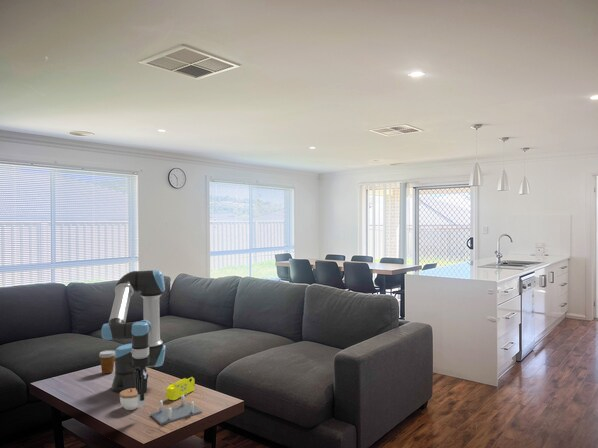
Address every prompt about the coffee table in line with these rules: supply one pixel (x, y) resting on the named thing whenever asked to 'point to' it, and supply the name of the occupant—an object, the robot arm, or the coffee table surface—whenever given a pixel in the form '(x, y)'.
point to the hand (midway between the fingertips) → (141, 406)
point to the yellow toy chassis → (180, 388)
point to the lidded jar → (129, 398)
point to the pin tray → (175, 412)
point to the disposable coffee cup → (107, 360)
